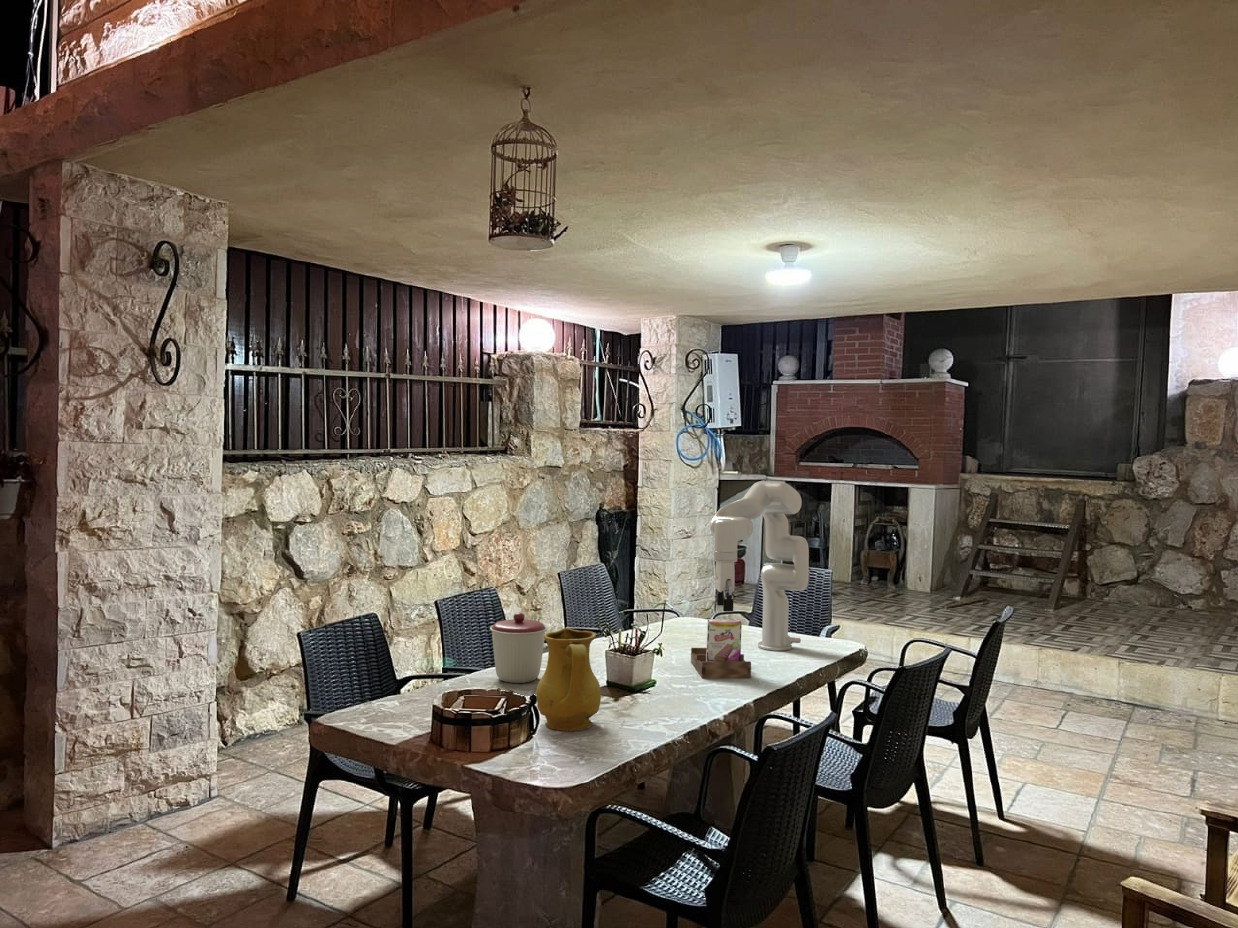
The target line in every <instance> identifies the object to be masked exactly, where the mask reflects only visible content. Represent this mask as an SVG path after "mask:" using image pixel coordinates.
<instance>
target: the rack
mask: <svg viewBox="0 0 1238 928" xmlns="http://www.w3.org/2000/svg"><path fill="white" fill-rule="evenodd" d="M706 651H707V647H691V648H690V664H691V665H692V666H693V668H694V669H695V670H696V673H698V675H699V676H700V677H701V679H752V662H751V660H750V661H746V660H745V654H743V653H742V654H741V656H740V661H706Z"/></svg>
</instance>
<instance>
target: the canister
mask: <svg viewBox="0 0 1238 928" xmlns="http://www.w3.org/2000/svg"><path fill="white" fill-rule="evenodd" d="M525 617H526V616H525V614H524V613H523V612H516V613H514V615H513V616H512V618H513V619H505V620H501V621H497V622H495V623H494V624H493V625H491V626H490V627H489V630H490V632H491V634H492V635H491V636H492V637H491V639H492V647H493V649H492V650H493V658H494V666H495V667H494V668H495V673H496V676H497V677H498V679H499V680H500V681H503V682H506V683H510V684H522V683H523V684H524V683H525V684H526V683H530V682H533V681H535V680H536V679H537V678H538V677H539V675H540V673H541V669H542V668H541V667H542V660H543V653H544V647H545V646H544V645H545V639H544V635H546V631H547V630H548V626H547V625H545V624H544V623H542V622H541V621H538V620H533V619H525Z"/></svg>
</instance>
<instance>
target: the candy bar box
mask: <svg viewBox="0 0 1238 928" xmlns="http://www.w3.org/2000/svg"><path fill="white" fill-rule="evenodd" d="M706 627H707V628H706V629H707V630H706V648H707V651H706V661H740V656H741V649H742V627H743V625H742V620H737V619H736V620H735V619H719V618H718V619H717V618H715V619H714V618H712V619H711V618H707V626H706Z"/></svg>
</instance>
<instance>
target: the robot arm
mask: <svg viewBox="0 0 1238 928" xmlns="http://www.w3.org/2000/svg"><path fill="white" fill-rule="evenodd" d="M801 508H802V497H801V495H800V493H799V492H798V491H797V489H795V488H793V486H791V485H790V484H788V483H787V482H783V481H770V480H769V481H768V480H761V481H757V482H754V483H753V484H752V485H751V487H750V488H749V489H748V491H746V493H745V494H744V496H742V498H740V499H738V500H735V501H733V502H730V503H728V504H726V505H723V506H722V507H721V508H719V509H718V511H716V513H715V514H714V515H713V516H712V519H711V520H710V524H709V531H710V533H711V534H712V536H714V541H713V542H714V543H713V544H714V547H713V549H714V551H713V552H714V555H713V556H714V557H713V561H714V562H715V567H714V568H715V569H714V571H715V572H714V588H715V590H716V591H717V594H716V599H717V600H716V605H717V606H718V607H719V606H722V611H723V612H734V593H733V592H735V577H736V575H735V574H736V573H735V563H736V562H738V540H744V541H745V540H746V539H749V538H750V537H751V536H752V535H753V531H754V524H753V522H752V520H754V519H755V520H756V519H757V518H759V517H760V516H762V517H763V519H764V524H765V543H764V544H765V545H764V546H765V547H764V548H765V554H766V556H767V558H769V559H771V560H775V561H787V562H793V564H790V563H789V564H787V563H781V562H779V563H777V562H770V563H766V564H765V565H763V567H762V568H761V572H760V578H761V579H760V581H761V585H762V626H761V627H762V630H761V632H762V633H761V636H762V638H761V641H759V642H758V643H757V647H758V648H760V649H763V650H767V651H776V652H777V651H778V652H779V651H781V652H783V651H789V650H791V649H793V645H792V644H801V639H802V638H800V637H794V636H790V635H789V607H790V606H789V605H790V604H789V602H790V601H789V598H788V595H787V594H786V593H785V591H794V592H802V591H805V589H807V587H808V585H809V571H810V569H809V568H810V567H809V565H810V564H809V559H810V555H809V554H810V552H809V551H810V550H809V549H810V548H809V543H808V541H807V539H806V538H805V537H803V536H800V535H791V534H790V533H789V532H790V531H789V525H790V524H789V520H788V518H787V516H786V515H795V514H797V513H799V511H800V509H801Z"/></svg>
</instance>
